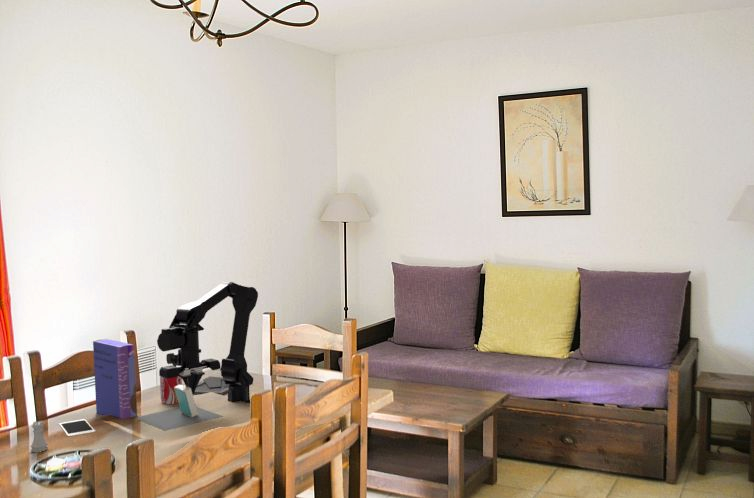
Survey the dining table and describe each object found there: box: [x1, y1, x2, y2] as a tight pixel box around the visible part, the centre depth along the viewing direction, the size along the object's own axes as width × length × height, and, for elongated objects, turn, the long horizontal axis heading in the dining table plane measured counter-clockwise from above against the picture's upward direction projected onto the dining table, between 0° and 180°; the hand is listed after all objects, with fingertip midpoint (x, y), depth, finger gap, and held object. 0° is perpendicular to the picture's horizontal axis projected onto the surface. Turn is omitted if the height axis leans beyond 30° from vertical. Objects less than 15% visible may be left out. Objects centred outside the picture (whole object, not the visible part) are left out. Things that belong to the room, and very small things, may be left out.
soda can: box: [159, 376, 183, 405], centre depth 256 cm, size 7×7×12 cm
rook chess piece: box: [30, 420, 49, 453], centre depth 211 cm, size 4×4×8 cm
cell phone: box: [58, 418, 97, 437], centre depth 232 cm, size 8×16×1 cm, turn 32°
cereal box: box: [92, 338, 138, 420], centre depth 243 cm, size 17×5×24 cm, turn 47°
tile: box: [174, 384, 198, 417], centre depth 238 cm, size 2×7×9 cm, turn 43°
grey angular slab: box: [193, 376, 229, 396], centre depth 279 cm, size 16×2×21 cm
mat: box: [133, 406, 224, 431], centre depth 237 cm, size 20×20×1 cm
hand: (191, 395), depth 240 cm, fingers closed
